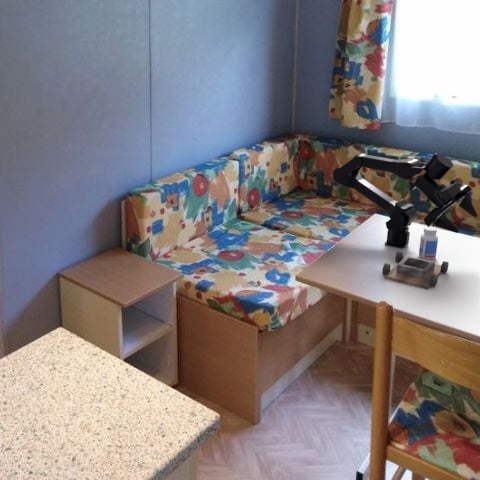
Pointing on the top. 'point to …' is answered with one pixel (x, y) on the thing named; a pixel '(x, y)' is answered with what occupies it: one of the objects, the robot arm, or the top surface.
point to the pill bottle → (428, 243)
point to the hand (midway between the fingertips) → (467, 224)
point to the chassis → (414, 271)
